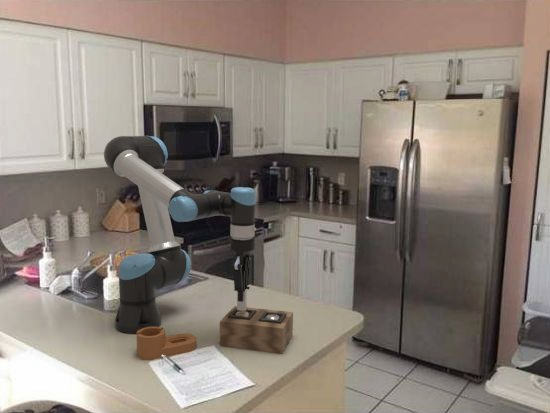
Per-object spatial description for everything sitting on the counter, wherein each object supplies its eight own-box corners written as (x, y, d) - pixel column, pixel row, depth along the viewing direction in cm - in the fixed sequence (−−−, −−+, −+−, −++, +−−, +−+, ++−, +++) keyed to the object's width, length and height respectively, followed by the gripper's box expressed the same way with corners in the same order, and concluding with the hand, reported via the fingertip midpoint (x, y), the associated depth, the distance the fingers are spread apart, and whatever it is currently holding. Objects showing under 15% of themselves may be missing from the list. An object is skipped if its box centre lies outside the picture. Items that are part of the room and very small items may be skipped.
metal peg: (264, 342, 156) (264, 318, 155) (267, 337, 160) (268, 313, 159) (276, 344, 155) (277, 319, 154) (280, 339, 159) (280, 315, 158)
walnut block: (219, 345, 155) (219, 319, 153) (234, 328, 168) (234, 304, 167) (282, 353, 150) (282, 326, 148) (292, 335, 163) (293, 310, 162)
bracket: (141, 362, 143) (140, 339, 142) (134, 351, 151) (133, 329, 150) (200, 350, 152) (200, 328, 151) (191, 340, 159) (191, 319, 158)
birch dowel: (234, 338, 159) (234, 314, 157) (238, 334, 162) (238, 310, 161) (246, 340, 158) (246, 316, 156) (250, 335, 161) (250, 311, 160)
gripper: (247, 242, 148) (246, 318, 152) (260, 234, 160) (258, 304, 164) (223, 240, 150) (223, 315, 154) (237, 232, 162) (237, 301, 166)
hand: (241, 309), depth 159 cm, fingers closed
